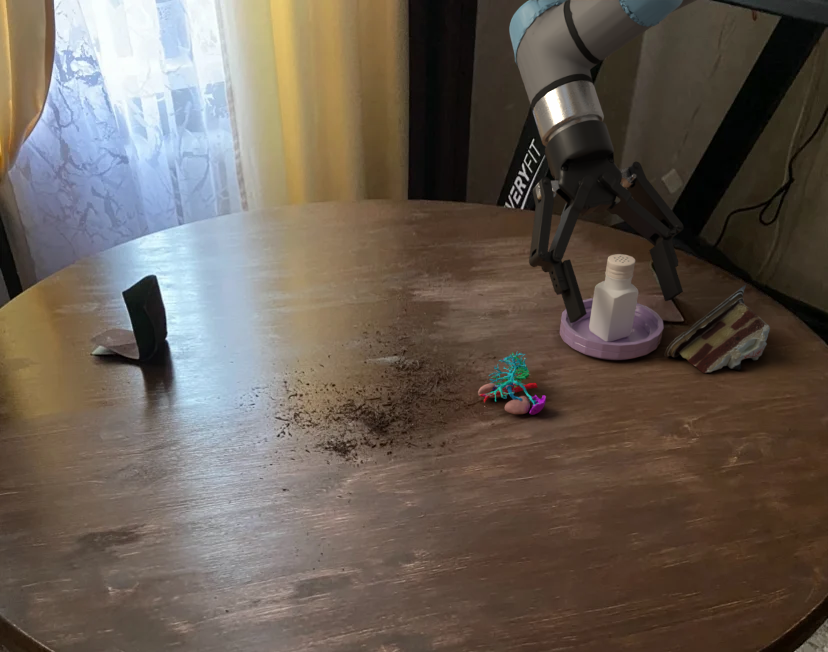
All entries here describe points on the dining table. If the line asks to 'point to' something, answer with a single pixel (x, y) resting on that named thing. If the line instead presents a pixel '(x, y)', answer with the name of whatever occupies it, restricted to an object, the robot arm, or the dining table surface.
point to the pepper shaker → (614, 300)
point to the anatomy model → (513, 388)
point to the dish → (632, 346)
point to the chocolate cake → (722, 336)
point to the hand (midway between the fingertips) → (627, 307)
